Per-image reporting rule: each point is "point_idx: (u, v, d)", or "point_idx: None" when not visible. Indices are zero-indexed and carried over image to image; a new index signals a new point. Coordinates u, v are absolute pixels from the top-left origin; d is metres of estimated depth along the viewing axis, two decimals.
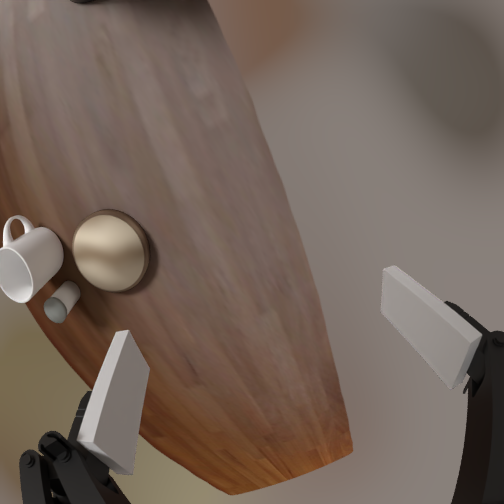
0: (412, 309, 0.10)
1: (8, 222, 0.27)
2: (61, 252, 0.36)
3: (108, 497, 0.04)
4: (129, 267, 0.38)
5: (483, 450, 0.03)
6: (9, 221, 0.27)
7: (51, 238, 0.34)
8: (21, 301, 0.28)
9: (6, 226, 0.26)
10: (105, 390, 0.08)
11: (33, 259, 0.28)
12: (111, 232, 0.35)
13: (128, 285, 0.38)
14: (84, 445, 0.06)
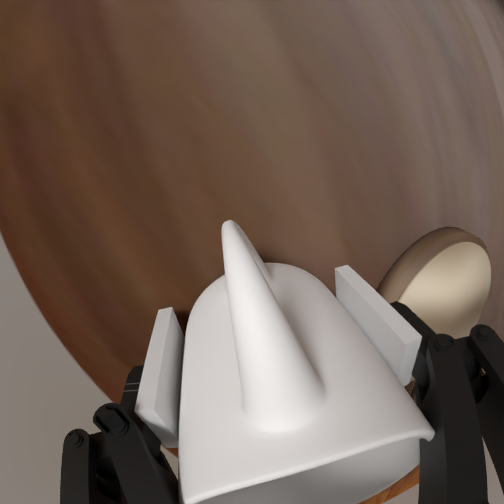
0: (359, 308, 0.11)
1: (254, 266, 0.06)
2: None
3: (161, 476, 0.05)
4: (460, 334, 0.17)
5: (439, 460, 0.04)
6: (251, 258, 0.06)
7: None
8: None
9: (265, 298, 0.06)
10: (159, 360, 0.09)
11: None
12: (469, 277, 0.15)
13: None
14: (141, 415, 0.07)
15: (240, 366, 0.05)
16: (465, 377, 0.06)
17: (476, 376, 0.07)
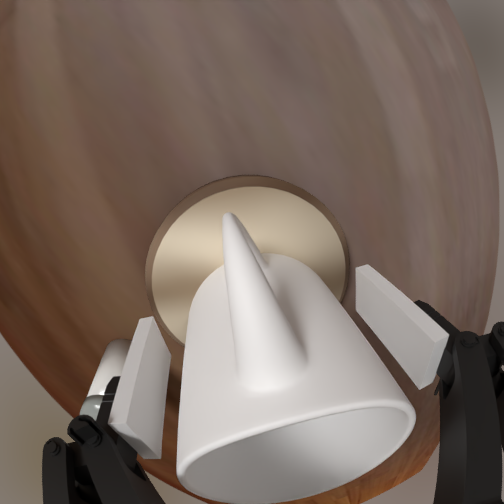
0: (382, 308, 0.11)
1: (247, 248, 0.07)
2: None
3: (137, 484, 0.05)
4: None
5: (459, 455, 0.04)
6: (245, 242, 0.08)
7: None
8: (293, 498, 0.08)
9: (255, 274, 0.07)
10: (135, 372, 0.09)
11: None
12: (277, 233, 0.15)
13: None
14: (115, 428, 0.07)
15: (234, 331, 0.07)
16: (488, 375, 0.05)
17: (496, 373, 0.06)
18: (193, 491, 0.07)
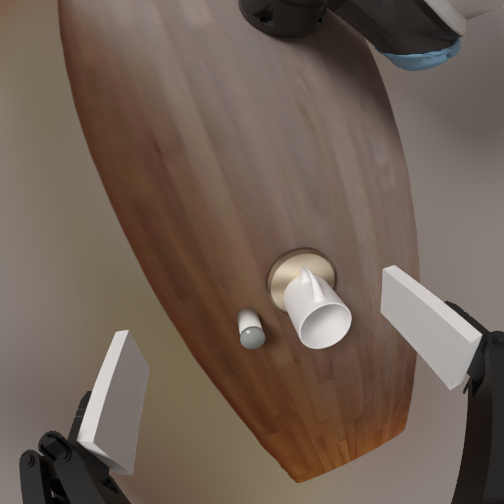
0: (413, 309, 0.10)
1: (314, 276, 0.39)
2: None
3: (108, 497, 0.04)
4: None
5: (483, 450, 0.03)
6: (313, 274, 0.40)
7: None
8: (322, 347, 0.40)
9: (316, 280, 0.39)
10: (105, 390, 0.08)
11: None
12: (312, 267, 0.47)
13: None
14: (84, 445, 0.06)
15: (312, 291, 0.39)
16: None
17: None
18: (300, 336, 0.39)
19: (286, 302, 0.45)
